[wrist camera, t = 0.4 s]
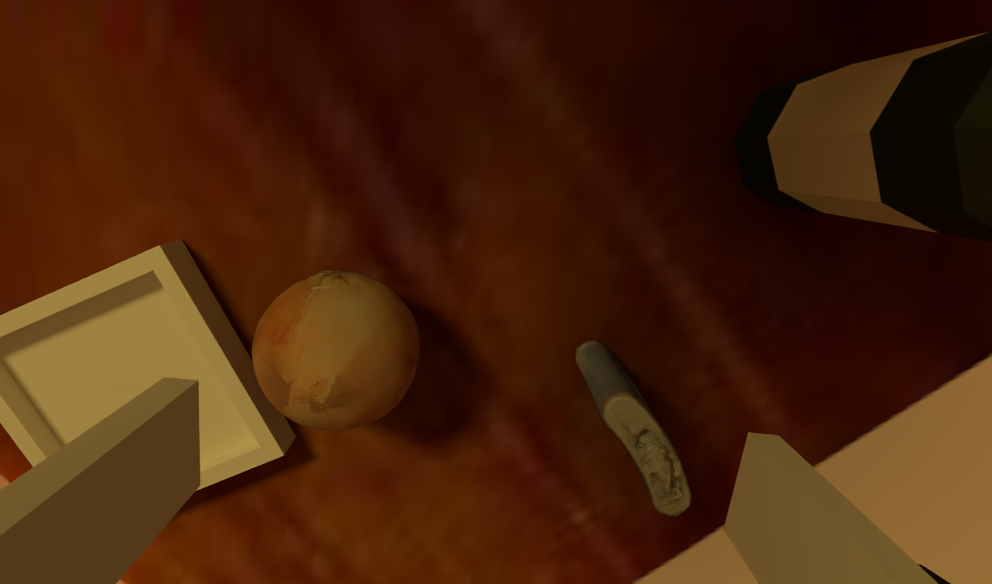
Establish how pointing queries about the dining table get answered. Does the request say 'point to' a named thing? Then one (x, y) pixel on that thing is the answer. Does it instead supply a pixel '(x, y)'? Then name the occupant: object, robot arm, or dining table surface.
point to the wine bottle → (882, 140)
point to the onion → (336, 351)
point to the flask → (635, 428)
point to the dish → (134, 362)
